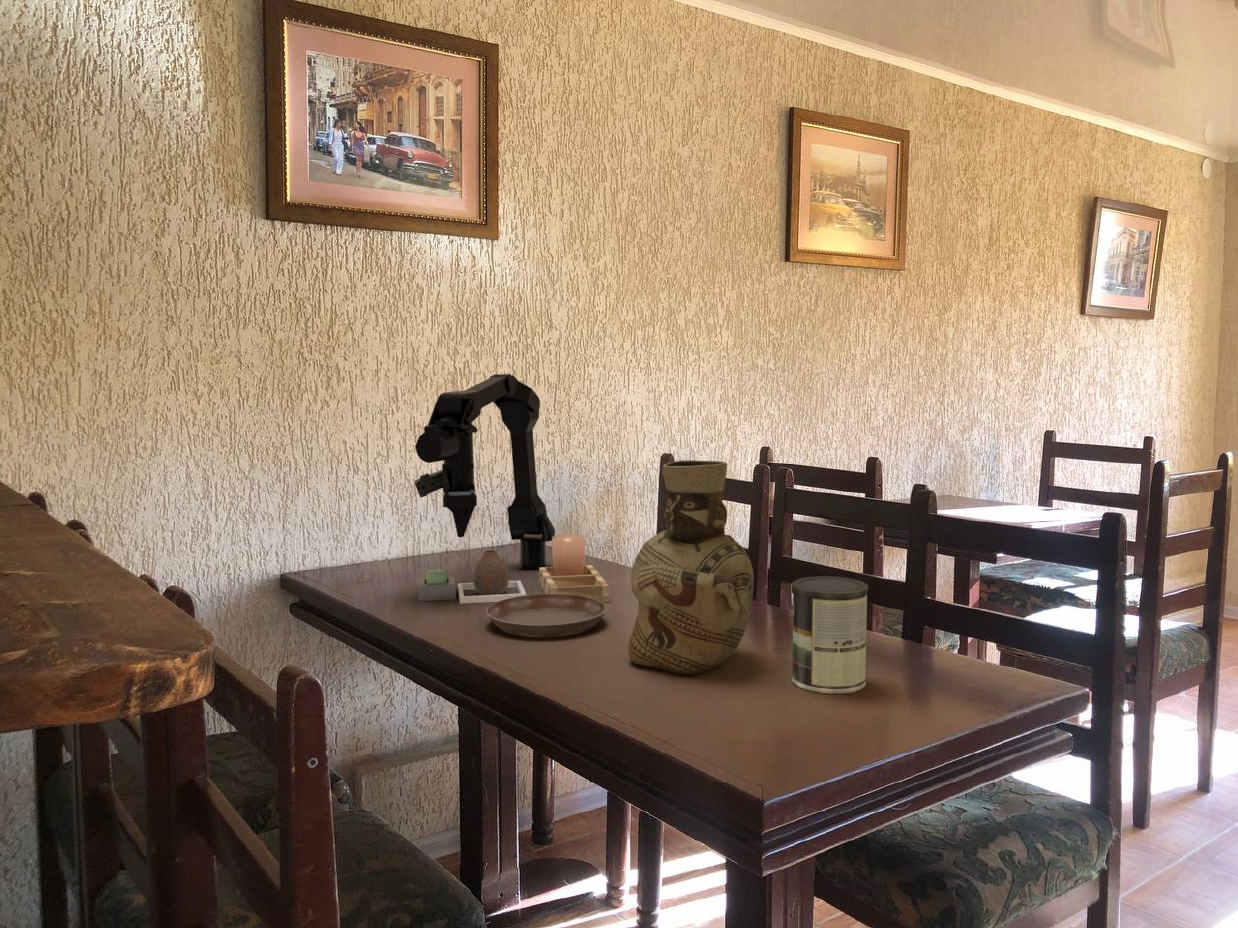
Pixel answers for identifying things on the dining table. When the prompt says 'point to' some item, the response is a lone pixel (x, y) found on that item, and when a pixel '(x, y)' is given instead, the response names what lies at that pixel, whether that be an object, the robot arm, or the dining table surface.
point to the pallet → (575, 584)
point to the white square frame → (488, 598)
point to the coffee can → (829, 634)
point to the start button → (436, 576)
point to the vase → (490, 574)
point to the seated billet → (568, 555)
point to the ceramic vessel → (691, 578)
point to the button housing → (436, 590)
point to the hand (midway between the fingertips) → (460, 537)
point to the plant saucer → (546, 615)
